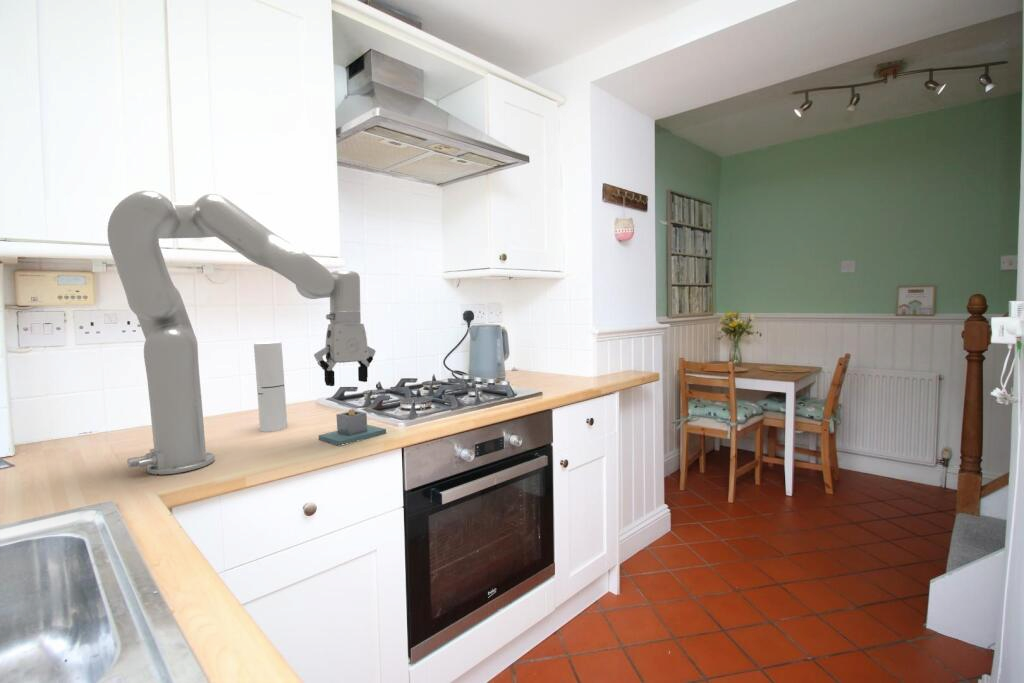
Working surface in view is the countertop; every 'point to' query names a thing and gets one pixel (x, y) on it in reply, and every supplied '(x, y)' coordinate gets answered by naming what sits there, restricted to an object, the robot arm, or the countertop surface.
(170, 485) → the countertop surface
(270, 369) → the grey piece
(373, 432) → the teal peg base
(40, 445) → the countertop surface
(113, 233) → the robot arm
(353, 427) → the grey square nut block
